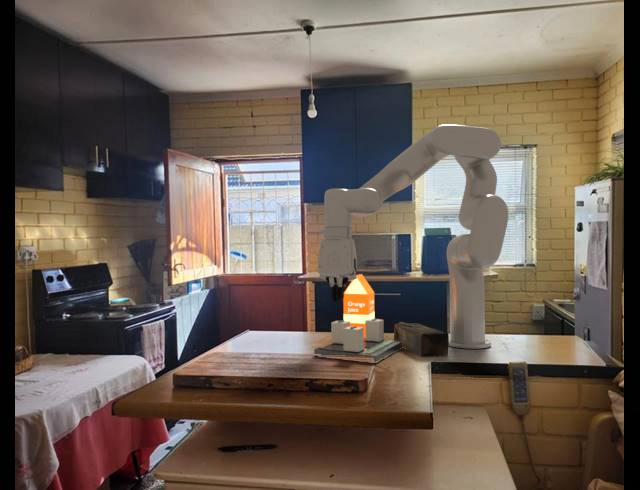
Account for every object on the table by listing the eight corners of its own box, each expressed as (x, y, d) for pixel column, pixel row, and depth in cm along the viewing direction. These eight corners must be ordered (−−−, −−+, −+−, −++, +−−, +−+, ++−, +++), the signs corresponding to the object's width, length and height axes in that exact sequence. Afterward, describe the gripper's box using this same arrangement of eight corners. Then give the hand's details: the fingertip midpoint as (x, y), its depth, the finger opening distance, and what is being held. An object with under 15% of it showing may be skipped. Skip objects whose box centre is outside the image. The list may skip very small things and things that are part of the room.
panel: (346, 343, 136) (346, 335, 136) (401, 348, 128) (401, 340, 128) (314, 356, 119) (314, 347, 119) (375, 364, 111) (375, 354, 111)
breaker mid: (337, 340, 129) (337, 319, 129) (350, 341, 127) (350, 320, 127) (331, 342, 126) (331, 321, 126) (344, 344, 124) (344, 322, 124)
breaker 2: (370, 338, 131) (370, 317, 131) (383, 339, 129) (383, 318, 129) (365, 340, 128) (365, 319, 128) (379, 341, 126) (378, 320, 126)
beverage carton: (418, 342, 137) (417, 320, 137) (450, 357, 119) (450, 331, 119) (393, 343, 135) (392, 321, 135) (421, 359, 117) (421, 333, 117)
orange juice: (375, 338, 142) (374, 273, 142) (369, 344, 134) (368, 275, 134) (350, 337, 145) (349, 273, 145) (343, 343, 136) (342, 275, 136)
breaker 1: (349, 347, 119) (349, 325, 119) (363, 349, 117) (363, 326, 117) (343, 350, 116) (343, 327, 116) (358, 352, 114) (357, 328, 114)
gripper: (307, 234, 127) (307, 301, 126) (357, 233, 120) (357, 304, 119) (320, 234, 133) (320, 298, 133) (368, 234, 126) (368, 301, 126)
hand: (337, 301), depth 126 cm, fingers closed
